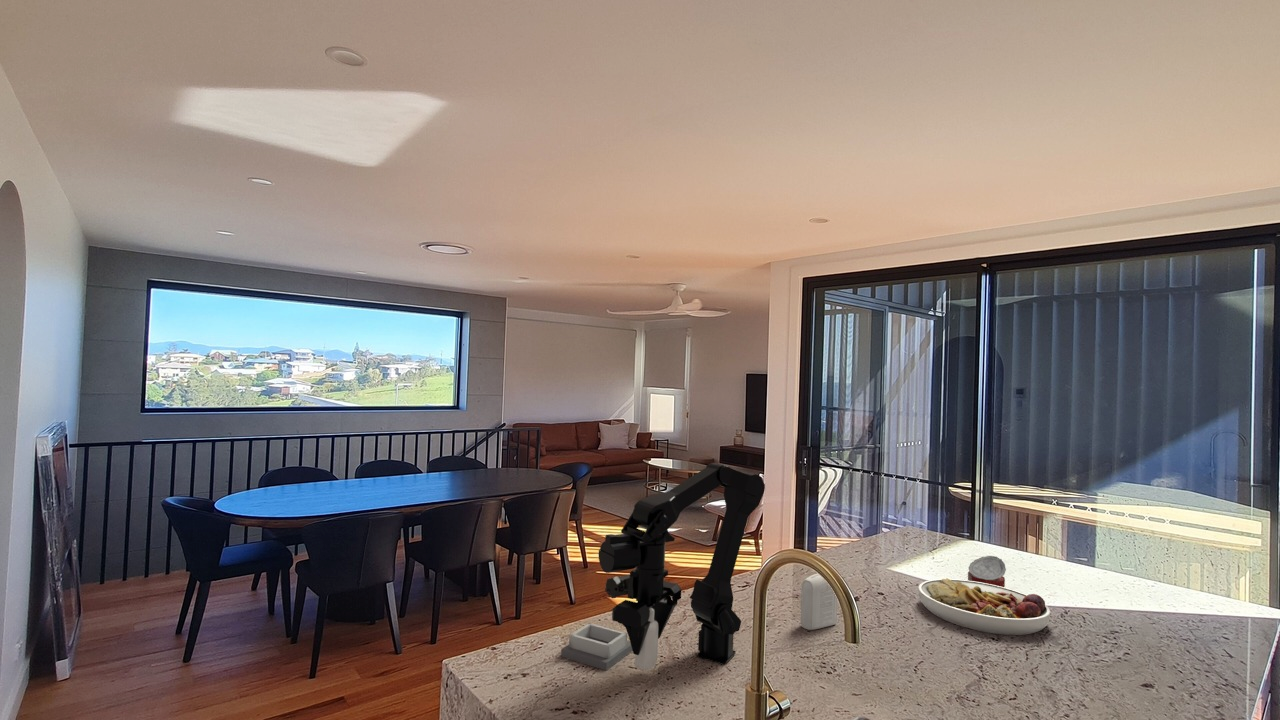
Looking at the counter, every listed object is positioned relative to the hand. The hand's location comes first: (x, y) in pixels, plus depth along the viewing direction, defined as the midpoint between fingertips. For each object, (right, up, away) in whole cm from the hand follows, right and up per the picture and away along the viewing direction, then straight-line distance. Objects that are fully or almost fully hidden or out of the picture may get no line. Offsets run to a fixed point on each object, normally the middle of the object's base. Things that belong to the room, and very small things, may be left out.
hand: (646, 646), depth 118 cm
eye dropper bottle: (0, -4, 0) cm, 4 cm away
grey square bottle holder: (-10, -6, +9) cm, 15 cm away
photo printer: (+42, -9, +29) cm, 52 cm away
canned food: (+105, -13, +67) cm, 125 cm away
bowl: (+88, -12, +40) cm, 98 cm away
